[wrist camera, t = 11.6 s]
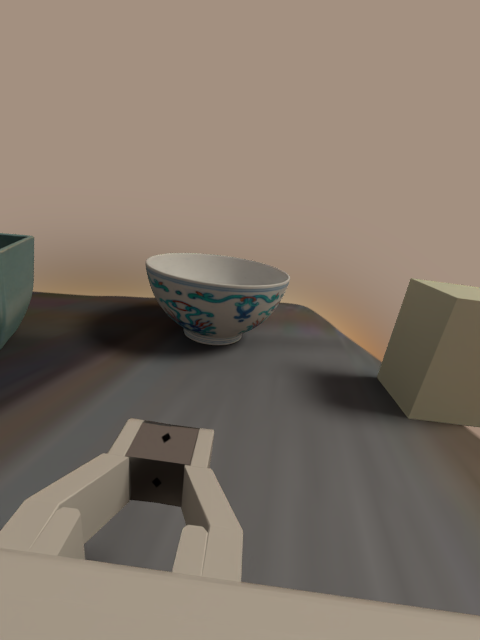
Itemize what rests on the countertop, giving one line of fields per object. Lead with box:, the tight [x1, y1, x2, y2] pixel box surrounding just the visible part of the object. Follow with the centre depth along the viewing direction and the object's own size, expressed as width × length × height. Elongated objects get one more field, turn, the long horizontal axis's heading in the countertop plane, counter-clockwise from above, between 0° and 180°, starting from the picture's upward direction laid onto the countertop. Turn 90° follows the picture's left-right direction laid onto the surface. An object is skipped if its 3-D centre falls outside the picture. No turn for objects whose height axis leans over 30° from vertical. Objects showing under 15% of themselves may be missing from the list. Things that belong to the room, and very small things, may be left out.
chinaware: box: [146, 253, 290, 345], centre depth 32 cm, size 15×15×8 cm
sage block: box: [377, 278, 480, 427], centre depth 24 cm, size 6×6×10 cm
